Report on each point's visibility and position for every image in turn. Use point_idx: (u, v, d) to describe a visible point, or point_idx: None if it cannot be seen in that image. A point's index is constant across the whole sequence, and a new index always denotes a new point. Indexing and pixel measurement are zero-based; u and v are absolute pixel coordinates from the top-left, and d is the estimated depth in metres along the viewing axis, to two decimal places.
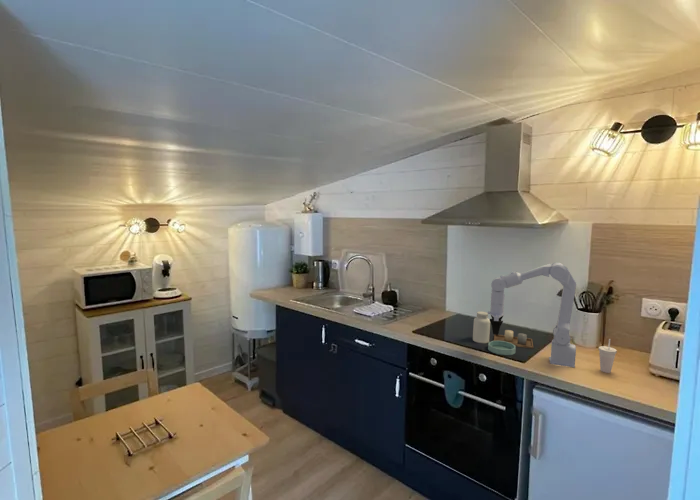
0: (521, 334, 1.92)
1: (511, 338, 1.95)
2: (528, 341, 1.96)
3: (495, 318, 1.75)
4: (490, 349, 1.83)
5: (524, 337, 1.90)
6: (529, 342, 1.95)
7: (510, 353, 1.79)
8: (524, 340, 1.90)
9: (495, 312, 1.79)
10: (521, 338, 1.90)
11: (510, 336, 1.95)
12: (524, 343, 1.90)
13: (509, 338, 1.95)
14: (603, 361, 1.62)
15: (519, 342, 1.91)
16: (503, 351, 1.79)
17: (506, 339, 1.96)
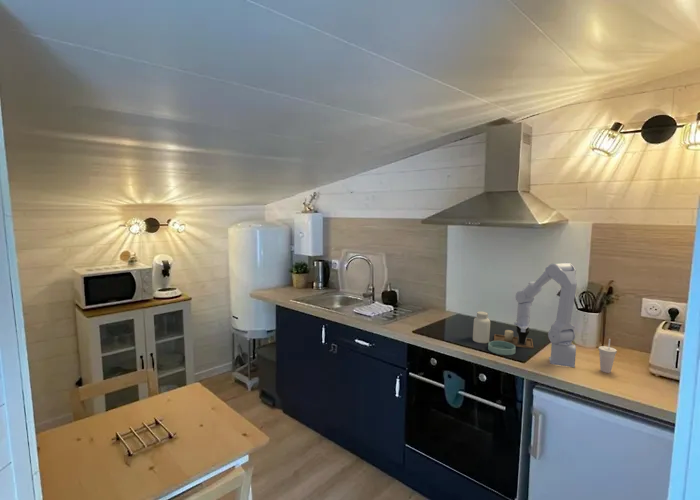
0: None
1: (511, 338, 1.95)
2: (528, 341, 1.96)
3: (522, 329, 1.85)
4: (490, 349, 1.83)
5: None
6: (529, 342, 1.95)
7: (510, 353, 1.79)
8: None
9: (521, 323, 1.89)
10: None
11: (510, 336, 1.95)
12: (524, 343, 1.90)
13: (509, 338, 1.95)
14: (603, 361, 1.62)
15: None
16: (503, 351, 1.79)
17: (506, 339, 1.96)
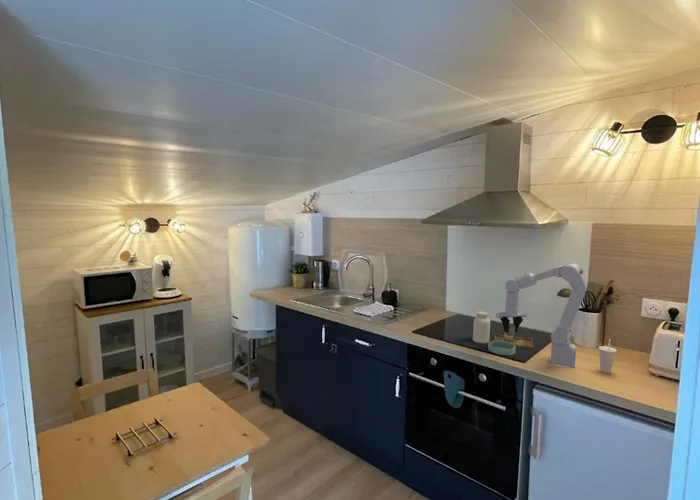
0: (510, 324, 1.85)
1: (511, 338, 1.95)
2: (528, 341, 1.96)
3: (496, 315, 1.83)
4: (490, 349, 1.83)
5: (508, 326, 1.84)
6: (529, 342, 1.95)
7: (510, 353, 1.79)
8: (508, 330, 1.84)
9: (505, 311, 1.84)
10: None
11: (510, 336, 1.95)
12: (508, 333, 1.84)
13: (509, 338, 1.95)
14: (603, 361, 1.62)
15: None
16: (503, 351, 1.79)
17: (506, 339, 1.96)
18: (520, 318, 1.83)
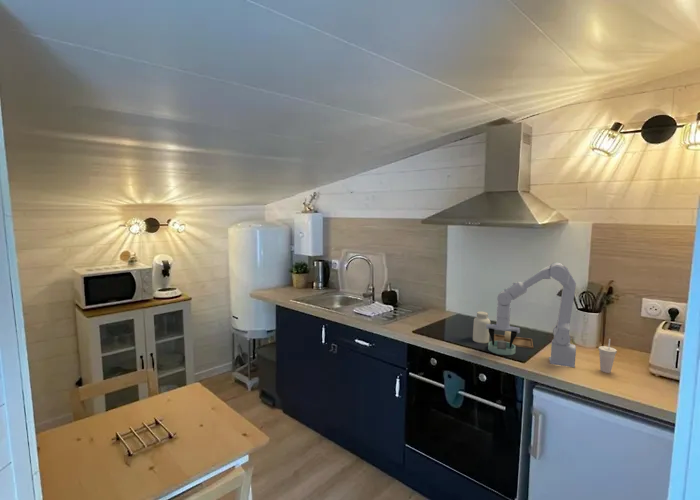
0: (502, 341, 1.82)
1: None
2: (528, 341, 1.96)
3: (486, 325, 1.84)
4: (490, 349, 1.83)
5: (497, 343, 1.81)
6: (529, 342, 1.95)
7: (510, 353, 1.79)
8: (497, 346, 1.81)
9: None
10: (497, 343, 1.83)
11: (510, 336, 1.95)
12: None
13: (509, 338, 1.95)
14: (603, 361, 1.62)
15: None
16: (503, 351, 1.79)
17: (506, 339, 1.96)
18: None
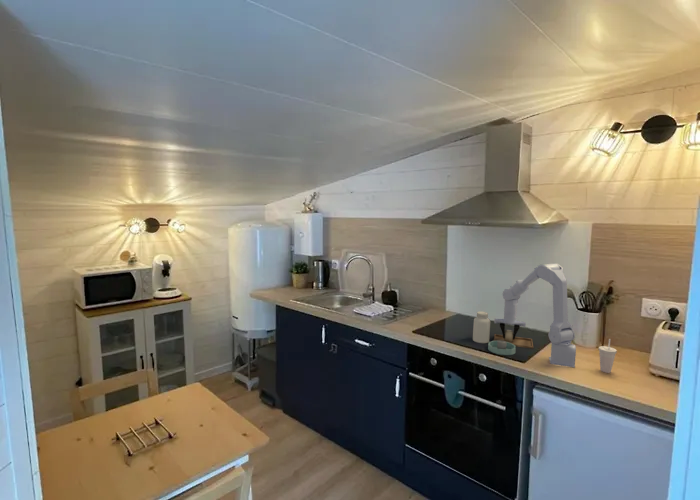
0: (502, 341, 1.82)
1: (511, 338, 1.95)
2: (528, 341, 1.96)
3: (494, 320, 1.99)
4: (490, 349, 1.83)
5: (497, 343, 1.81)
6: (529, 342, 1.95)
7: (510, 353, 1.79)
8: (497, 346, 1.81)
9: None
10: (497, 343, 1.83)
11: (510, 336, 1.95)
12: None
13: (509, 338, 1.95)
14: (603, 361, 1.62)
15: None
16: (503, 351, 1.79)
17: (506, 339, 1.96)
18: (517, 326, 1.93)
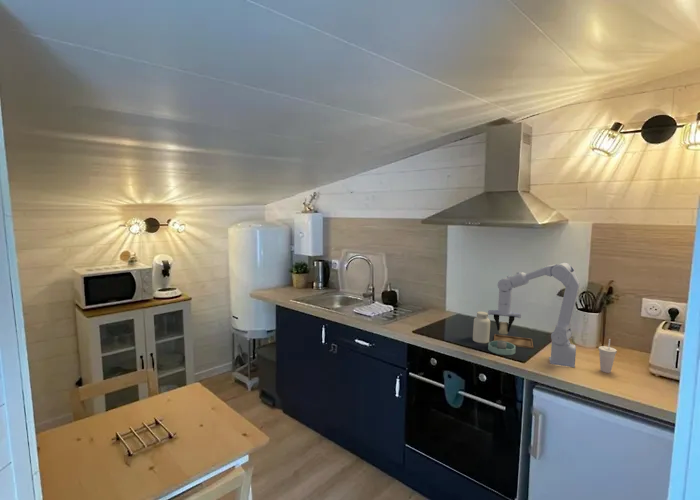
0: (502, 341, 1.82)
1: (506, 330, 1.85)
2: (528, 341, 1.96)
3: (488, 311, 1.89)
4: (490, 349, 1.83)
5: (497, 343, 1.81)
6: (529, 342, 1.95)
7: (510, 353, 1.79)
8: (497, 346, 1.81)
9: None
10: (497, 343, 1.83)
11: (504, 329, 1.85)
12: None
13: (504, 330, 1.85)
14: (603, 361, 1.62)
15: None
16: (503, 351, 1.79)
17: (500, 331, 1.86)
18: (511, 318, 1.83)
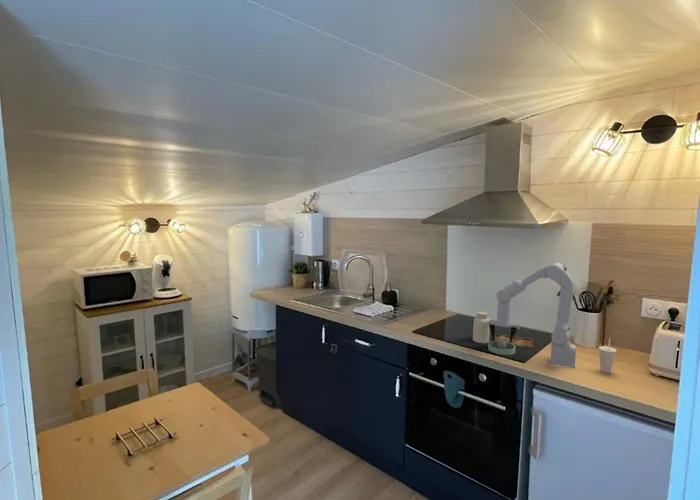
0: (502, 341, 1.82)
1: None
2: (528, 341, 1.96)
3: (487, 322, 1.89)
4: (490, 349, 1.83)
5: (497, 343, 1.81)
6: (529, 342, 1.95)
7: (510, 353, 1.79)
8: (497, 346, 1.81)
9: None
10: (497, 343, 1.83)
11: None
12: None
13: None
14: (603, 361, 1.62)
15: None
16: (503, 351, 1.79)
17: None
18: None
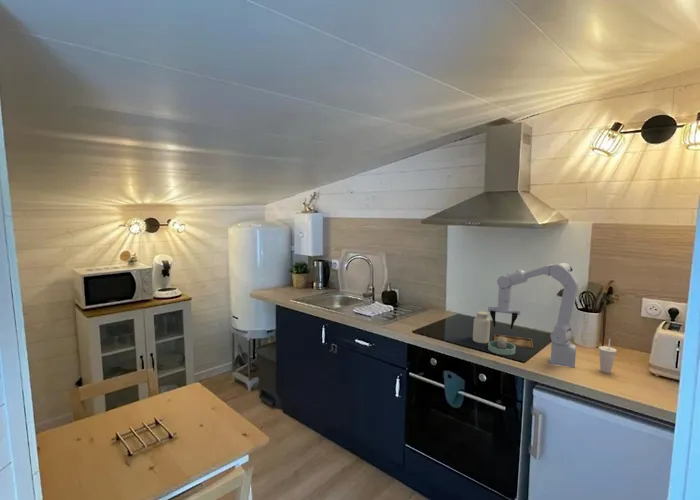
0: (502, 341, 1.82)
1: None
2: (528, 341, 1.96)
3: (488, 308, 1.91)
4: (490, 349, 1.83)
5: (497, 343, 1.81)
6: (529, 342, 1.95)
7: (510, 353, 1.79)
8: (497, 346, 1.81)
9: None
10: None
11: None
12: None
13: None
14: (603, 361, 1.62)
15: None
16: (503, 351, 1.79)
17: None
18: None
